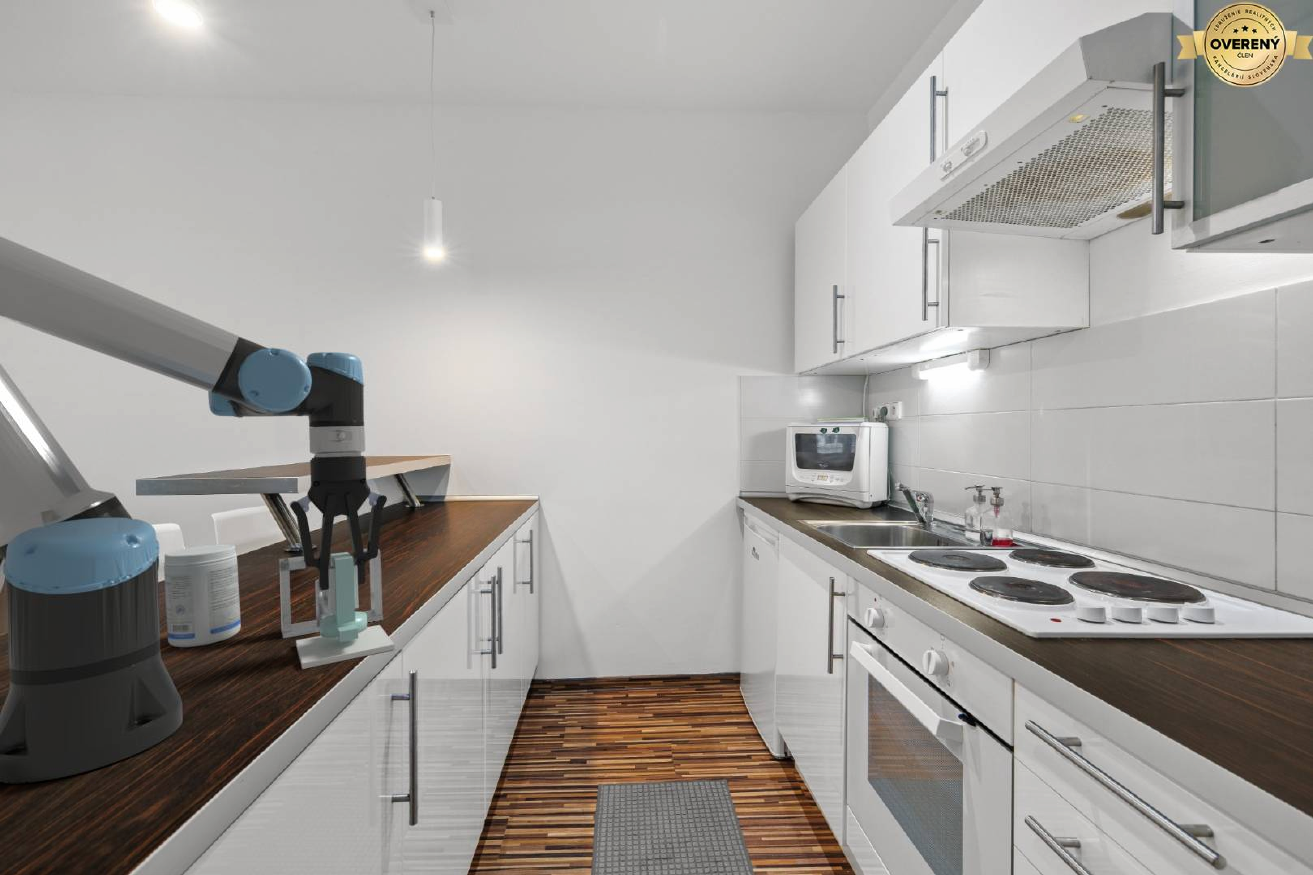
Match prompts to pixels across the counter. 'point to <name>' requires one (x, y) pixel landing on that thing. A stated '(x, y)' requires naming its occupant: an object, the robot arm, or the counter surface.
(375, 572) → the grey open frame
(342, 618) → the mint inverted t-block
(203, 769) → the counter surface
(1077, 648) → the counter surface
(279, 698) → the counter surface
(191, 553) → the supplement tub
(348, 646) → the pad
